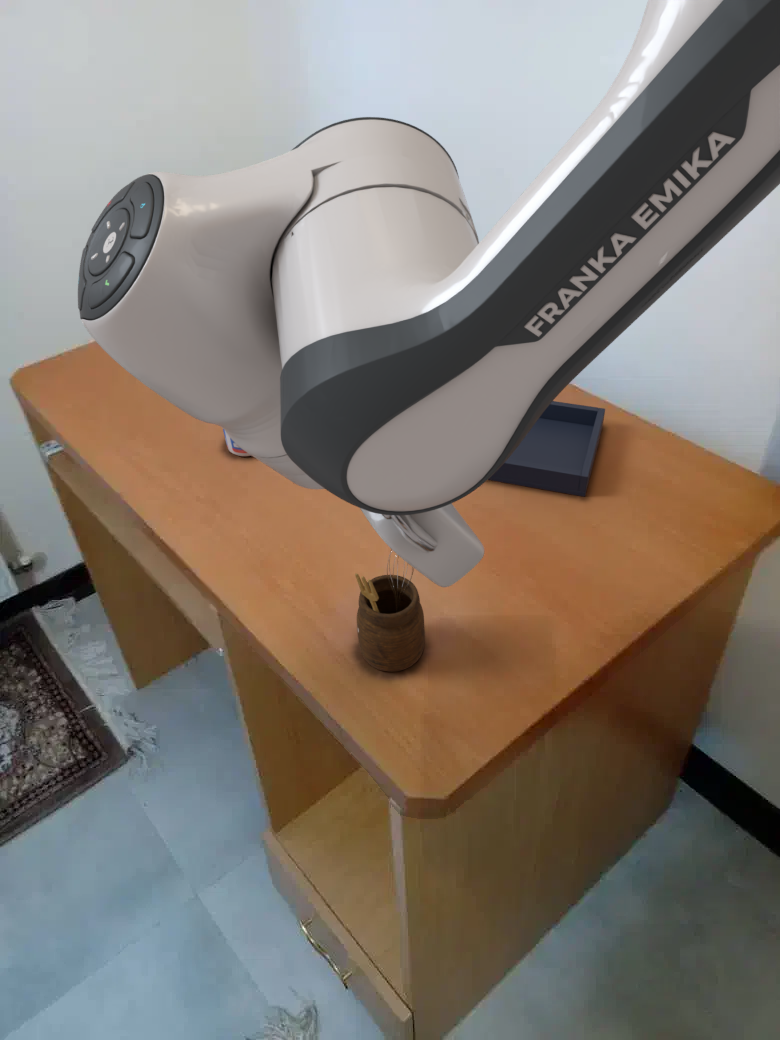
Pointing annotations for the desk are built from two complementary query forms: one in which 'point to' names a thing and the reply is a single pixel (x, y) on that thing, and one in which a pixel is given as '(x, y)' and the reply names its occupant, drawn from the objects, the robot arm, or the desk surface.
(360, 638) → the utensil holder
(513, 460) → the tray
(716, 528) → the desk surface
